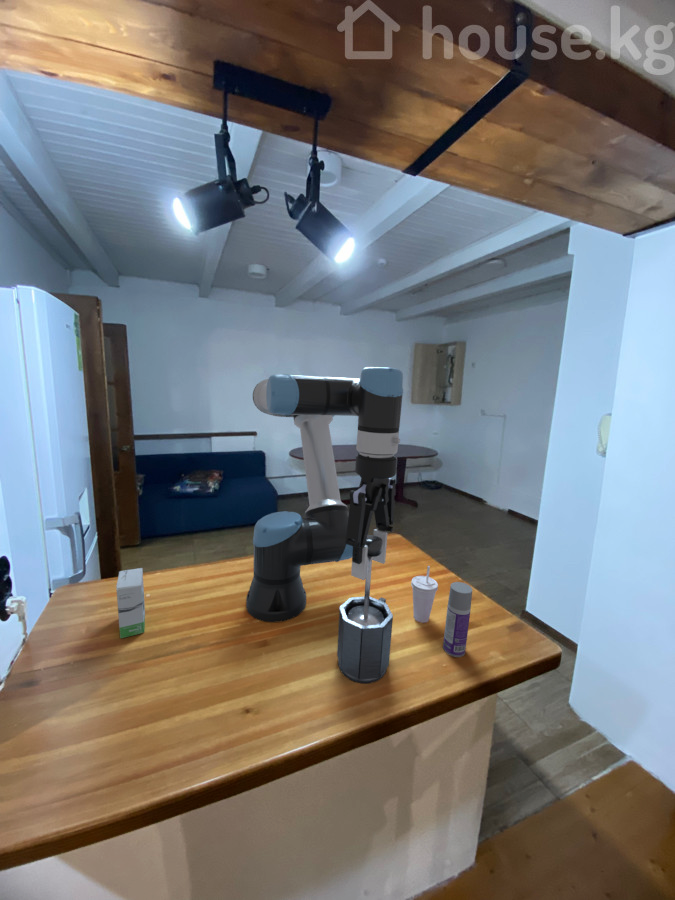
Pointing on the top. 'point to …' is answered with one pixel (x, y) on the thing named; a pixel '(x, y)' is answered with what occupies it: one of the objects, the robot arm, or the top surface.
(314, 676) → the top surface
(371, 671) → the mug
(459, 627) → the container
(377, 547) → the plunger
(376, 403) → the robot arm
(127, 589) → the ink box
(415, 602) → the smoothie
